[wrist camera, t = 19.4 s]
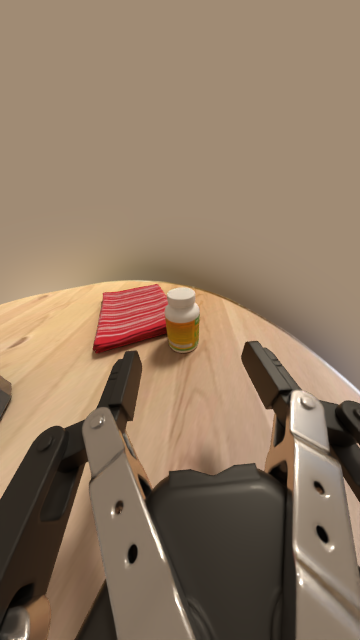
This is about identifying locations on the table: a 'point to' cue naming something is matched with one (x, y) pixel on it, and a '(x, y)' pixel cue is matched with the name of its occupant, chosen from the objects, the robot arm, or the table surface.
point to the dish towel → (130, 317)
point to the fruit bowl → (4, 394)
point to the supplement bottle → (182, 320)
